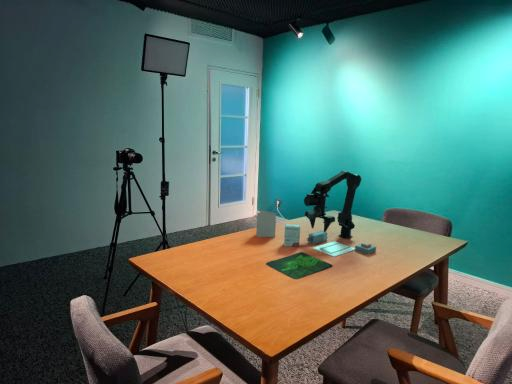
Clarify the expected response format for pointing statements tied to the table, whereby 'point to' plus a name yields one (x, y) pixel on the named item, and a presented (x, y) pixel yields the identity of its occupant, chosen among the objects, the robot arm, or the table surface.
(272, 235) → the greeting card
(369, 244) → the button
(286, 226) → the ink box
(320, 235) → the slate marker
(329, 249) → the paper sheet
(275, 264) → the mouse mat
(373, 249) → the button frame
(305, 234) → the table surface
